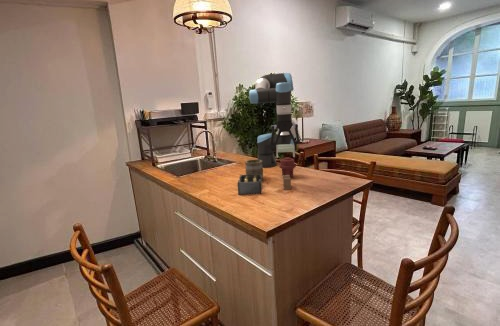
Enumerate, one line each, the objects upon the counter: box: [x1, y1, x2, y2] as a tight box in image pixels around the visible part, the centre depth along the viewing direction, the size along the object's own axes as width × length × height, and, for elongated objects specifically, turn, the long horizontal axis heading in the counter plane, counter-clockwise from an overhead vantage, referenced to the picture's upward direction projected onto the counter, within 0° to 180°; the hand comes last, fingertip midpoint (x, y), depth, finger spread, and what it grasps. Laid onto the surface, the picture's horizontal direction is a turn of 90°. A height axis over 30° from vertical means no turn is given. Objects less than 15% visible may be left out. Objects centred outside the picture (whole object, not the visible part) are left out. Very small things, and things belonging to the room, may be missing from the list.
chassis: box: [236, 174, 263, 196], centre depth 148 cm, size 16×12×6 cm
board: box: [278, 144, 294, 153], centre depth 144 cm, size 12×8×2 cm, turn 177°
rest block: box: [282, 175, 292, 191], centre depth 148 cm, size 8×4×6 cm, turn 177°
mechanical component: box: [278, 156, 296, 179], centre depth 166 cm, size 12×10×10 cm
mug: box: [244, 159, 264, 182], centre depth 167 cm, size 16×11×12 cm
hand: (285, 156), depth 145 cm, fingers closed on board, 8 cm apart
